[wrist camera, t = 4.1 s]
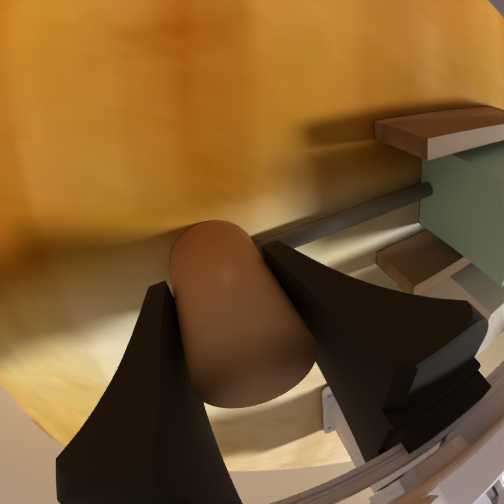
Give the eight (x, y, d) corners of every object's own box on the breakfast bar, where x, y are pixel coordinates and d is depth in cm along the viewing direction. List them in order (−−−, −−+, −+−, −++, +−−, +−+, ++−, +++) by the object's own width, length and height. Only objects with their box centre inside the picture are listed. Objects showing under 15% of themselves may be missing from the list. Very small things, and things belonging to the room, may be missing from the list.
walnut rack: (465, 282, 20) (489, 304, 18) (369, 340, 19) (393, 372, 16) (491, 106, 12) (531, 119, 10) (373, 121, 11) (427, 138, 8)
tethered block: (465, 201, 15) (539, 251, 10) (190, 314, 13) (225, 439, 8) (471, 131, 13) (559, 171, 8) (150, 227, 10) (160, 362, 6)
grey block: (452, 279, 19) (505, 329, 14) (410, 304, 18) (465, 364, 14) (463, 228, 17) (529, 277, 12) (419, 251, 16) (491, 314, 11)
